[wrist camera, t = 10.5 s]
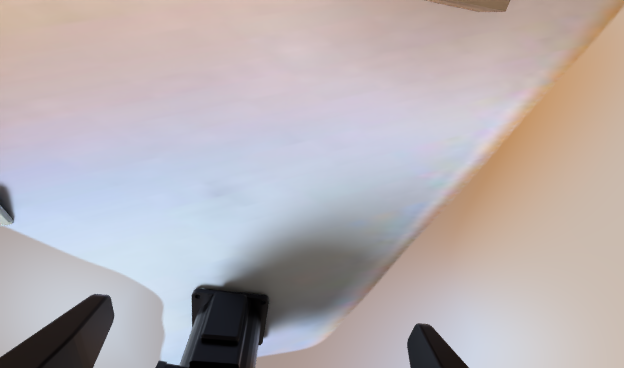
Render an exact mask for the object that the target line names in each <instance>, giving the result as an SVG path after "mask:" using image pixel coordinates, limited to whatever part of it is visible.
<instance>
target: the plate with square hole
mask: <svg viewBox="0 0 624 368" xmlns="http://www.w3.org/2000/svg"><path fill="white" fill-rule="evenodd" d="M426 1H431V2H435V3H440V4H445V5H450V6H454V7H459V8H464V9H469V10H473V11H478V12H505V11H506V9H507V7H508V4H509V2H510V0H426Z"/></svg>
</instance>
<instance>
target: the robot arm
mask: <svg viewBox="0 0 624 368" xmlns="http://www.w3.org/2000/svg"><path fill="white" fill-rule="evenodd" d="M268 304H269V298H268V296H266V295H258V294H248V293H237V292H227V291H217V290H206V289H195V290H194V291H193V294H192V331H191V334H190V336H189V339H188V342H187V345H186V348H185V351H184V354H183V357H182V359H181V362H180V365H173V364H167V362H164V361H159V362H158V364H157V366H156V368H255V365H256V358H257V350H258V345H261V344H262V343H263V336H264V330H265V323H266V317H267V310H268ZM113 319H114V311H113V306H112V302H111V297H110V296H109V295H102V294H94V295H91V296H90V297H88V298H86V299H85V300H83V301H82V302H81V303H79V304H78V305H76V306H75V307H73V308H72V309H70V310H69V311H68V312H66V313H65V314H63V315H62V316H60V317H59V318H57V319H56V320H54V321H53V322H51V323H50V324H48V325H47V326H45V327H44V328H42V329H41V330H40V331H38V332H37V333H35V334H34V335H32V336H31V337H29V338H28V339H26V340H25V341H24V342H22V343H20V344H19V345H18V346H16V347H15V348H13V349H12V350H10V351H9V352H7V353H6V354H4V355H3V356H1V357H0V368H93V366H94V364H95V361H96V359H97V357H98V355H99V353H100V350H101V348H102V346H103V344H104V341H105V339H106V337H107V334H108V332H109V330H110V327H111V325H112V323H113ZM407 348H408V354H409V360H410V367H411V368H469V367H468V366H467V365H466V364H465V363H464V362H463V361H462V360H461V358H460V357H459V356H458V355H457V354H456V353H455V352H454V351H453V350H452V349H451V347H450V346H449V345H448V344H447V343H446V342H445V341H444V340H443V338H442V337H441V336H440V335H439V334H438V333H437V332H436V331H435V329H434V328H433V327H432V326H430V325H428V324H420V323H418V324H416V325H415V327H414V328H413V330H412V332H411V335H410V336H409V339H408V342H407Z"/></svg>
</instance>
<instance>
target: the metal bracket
mask: <svg viewBox="0 0 624 368" xmlns="http://www.w3.org/2000/svg"><path fill="white" fill-rule="evenodd" d="M12 223H13V219H12V218H11V217H10V216H9V215H8V213H7V212H6V211H5V210H4V209H3V208H2V207H1V205H0V227H2V226H3V225H10V224H12Z"/></svg>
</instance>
